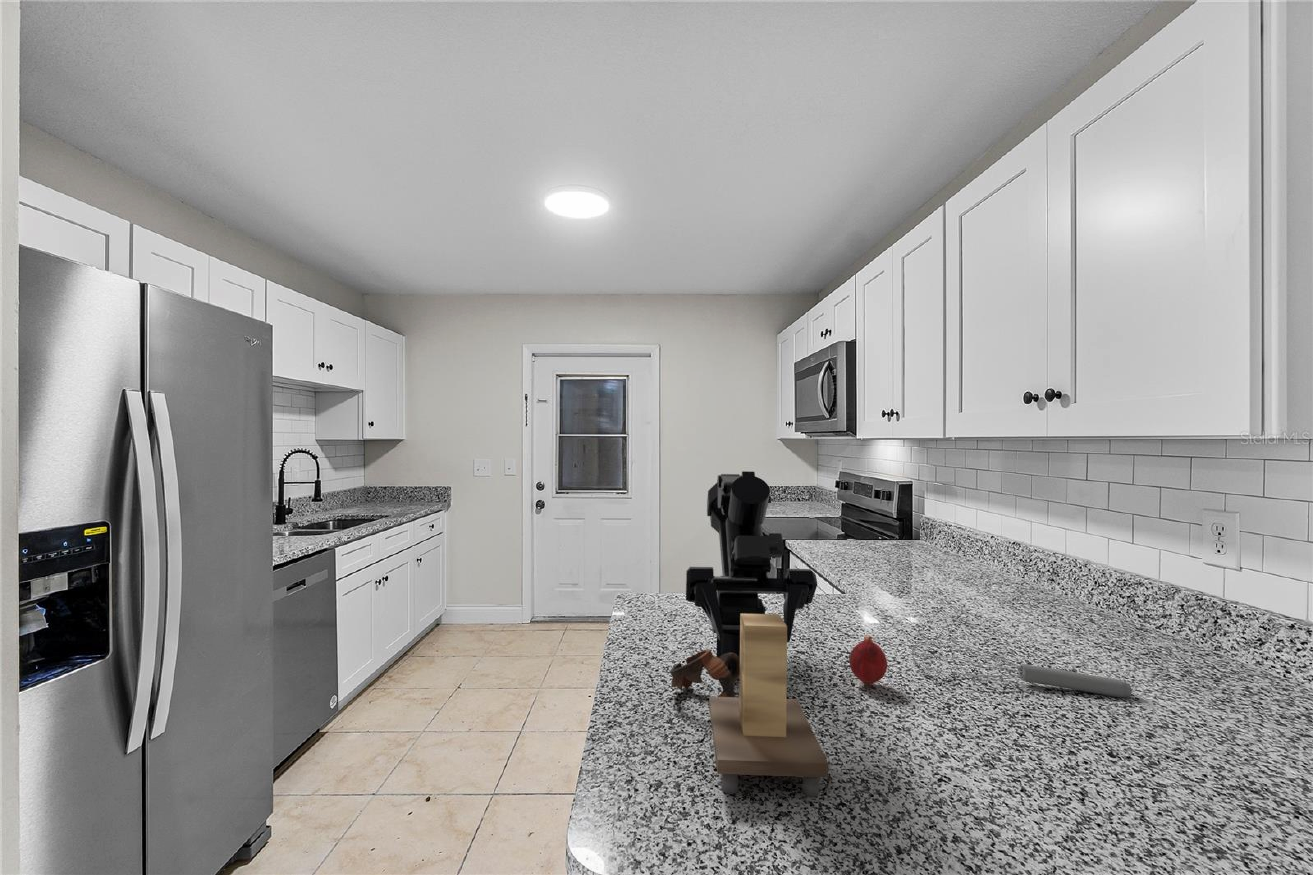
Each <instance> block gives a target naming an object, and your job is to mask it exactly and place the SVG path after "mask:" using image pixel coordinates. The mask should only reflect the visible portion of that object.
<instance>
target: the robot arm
mask: <svg viewBox="0 0 1313 875" xmlns="http://www.w3.org/2000/svg"><path fill="white" fill-rule="evenodd" d="M706 499H707V500H706V516H707V517H709V519H710V520H709V521H710V527H711V528H712V529H713V530H714V531H716V532H717V533H718V536H719V538H718V539H719V548H720V549H719V550H720V560H721V561H720V562H721V563H720V564H721V571H722V575H720V576H719V575H718V576H715V573H714V572H715V571H714V567H712V566H689V567H688V569H686V573H685V576H686V577H685V601H687V602H689V603H694V606H695V607H697V608H702V611H703V613H704V614H705V615H706V616H707V618H708V619H709V622H710V623H711V628H712V632H713V634H716V657H720V656H722V655H723V654H726V653H730V652H732V653H735V654H736V655H737V656H738V657H739V659H740V614H766V611H767V610H766V606H765V605H764V603H763V599H762V598H760V597H759V594H758V593H782V595H783V600H784V601H783V605H782V610H783V621H784V622H785V624H786V626H787V643H790V641H791V638H792V632H793V628H794V627H793V626H794V620H795V615H796V612H797V610H802V609H804V608H805V606H807V605H809V604H812V602H813V599H814V596H815V593H816V589H817V587H818V581H817V579H818V578H817V574H816V573H815V572H814V570H812V569H811V568H787V569H786V572H785V576H784V578H782V577H781V578H780V577H777V578H776V577H769V575H768V573H770V572H771V569H772V567H771V566H772V564H771V561H772V558H779V559H780V558H782V556H783V555H784V550H785V549H784V548H785V547H784V539H783V535H782V533H778V532H776V533H775V532H769V533H768V535H764V534H763V526H762V524H764V522H765V520H766V515H767V510H768V506H769V504H772V495H771V487H770V486H769V485H768V483H767V482H766V481H765V480H764V479H762V478H760V477H758V476H756V473H755V471H741V475H740V474H739V473H737V474H735V473H734V474H733V473H732V474H731V473H730V474H729V473H721V474H718V475H717V482H716V483H715V484H714V485H713V486H711V487H710V488H709V489H708V491H707V498H706ZM727 668H728V670H729V672H731V668H732V665H731V662H728V665H727Z"/></svg>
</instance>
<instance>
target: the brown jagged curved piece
mask: <svg viewBox="0 0 1313 875" xmlns="http://www.w3.org/2000/svg"><path fill="white" fill-rule="evenodd" d="M728 662H731V665H732V668H731V671H730V670H728V668H727V665H728ZM685 663H686V664H684V665H682V663H681V662H678V663H677V664H676V665H674V666H673V667H672V668H671V669H670V670H669V673H670V675H671V677H672V678H671V688H678V690H679V691H683V689H685V690H688V689H689V688H691V687H692V685H693V683H694V684H702V683H703V680H702V671H703V668H704V669H705V670H706V671H707V673H708V676H709V677H711V678H712V679H713V680H715V681H716V680H717V681H718V683H719V684H720V685H721V688H722V692H721V693H720V694H718V695H717V696H716V697H737V696H736V691H735V684H736V682H737V681H738V680H739V679H740V659H739V657H738V656H737V655H736V654H735V653H732V652H730V653H726V654H723V655H722V656H720V657H717V656H715V655H714V654H713V652H712V649H710V648H709V649H707V648H706V649H703V650H701V651H699V652H697V653H695V654H693V655H691V656H689V657H688V658H686V659H685Z"/></svg>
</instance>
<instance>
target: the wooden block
mask: <svg viewBox="0 0 1313 875" xmlns="http://www.w3.org/2000/svg"><path fill="white" fill-rule="evenodd" d="M787 664H788V642H787V626H786V624H785V622H784V618H782V616H781V614H774V613H770V614H769V613H765V614H740V676H739V693H738V695H739V696H738V698H739V717H740V721H741V726H742V730H743V734H744V736H770V737H786V699H787V686H788V685H787V684H788V682H787V681H788V680H787V675H788V674H787V673H788V667H787V666H788V665H787Z"/></svg>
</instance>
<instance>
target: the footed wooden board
mask: <svg viewBox="0 0 1313 875" xmlns="http://www.w3.org/2000/svg"><path fill="white" fill-rule="evenodd" d="M708 698H709V700H708V704H709V705H708V709H709V717H710V724H711V733H712V734H711V735H712V740H713V742H712V743H713V748H714V754H715V755H714V756H715V765H716V772H717V774H719V775H720V774H721V791H722V792H723V793H725V794H728V795H734V794H737V792H739V775H740V776H741V775H744V776H746V775H748V776H769V777H770V776H774V777H776V776H777V777H797V778H798V777H800V778H802V793H803V794H804V795H806V796H807V797H810V798H817V797H818V796H820V781H821V780H820V779H821V778H827V779H828V778H829V762H828V760H827V758H826V755H825V754H824V751H823V750H822V748H821V746H820V743H819V742H818V739H817V737H816V735H815V733H814V730H813V729H812V727H811V724H810V723H809V720H808V719H807V717H806V715H805V712H804V711H803V709H802V706H801V704H800V702H799V700H798V699H797V698H795V699H794V698H786V737H770V736H744V734H743V730H742V726H741V721H740V717H739V696H738V697H737V696H736V697H717V696H709V697H708Z"/></svg>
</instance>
